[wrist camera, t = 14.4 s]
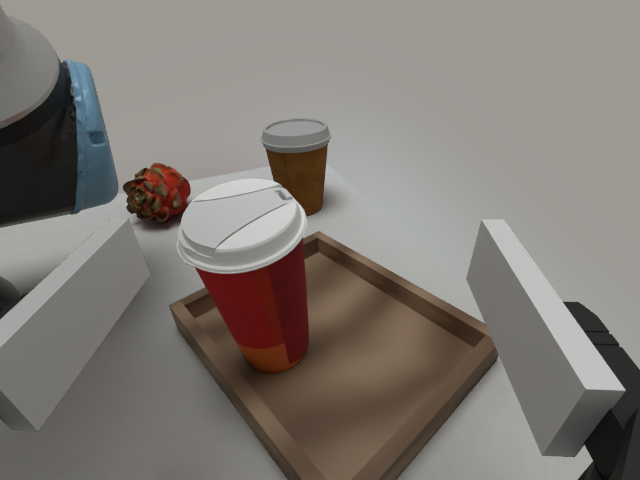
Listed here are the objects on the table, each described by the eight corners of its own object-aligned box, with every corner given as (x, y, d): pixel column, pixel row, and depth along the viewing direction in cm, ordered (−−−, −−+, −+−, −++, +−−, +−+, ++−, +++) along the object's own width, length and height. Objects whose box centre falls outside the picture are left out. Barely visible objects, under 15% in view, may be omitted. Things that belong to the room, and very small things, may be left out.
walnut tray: (177, 328, 34) (169, 305, 32) (319, 251, 43) (318, 231, 42) (338, 548, 19) (337, 526, 18) (496, 360, 29) (505, 335, 27)
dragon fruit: (157, 248, 48) (170, 219, 59) (200, 206, 48) (206, 184, 58) (101, 206, 45) (126, 183, 55) (147, 160, 44) (163, 145, 55)
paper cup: (296, 293, 34) (273, 162, 24) (338, 356, 28) (329, 220, 19) (217, 330, 31) (157, 200, 22) (247, 407, 26) (185, 278, 17)
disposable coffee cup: (303, 188, 59) (298, 114, 53) (346, 205, 53) (345, 124, 47) (257, 208, 54) (245, 128, 47) (298, 229, 48) (290, 142, 41)
